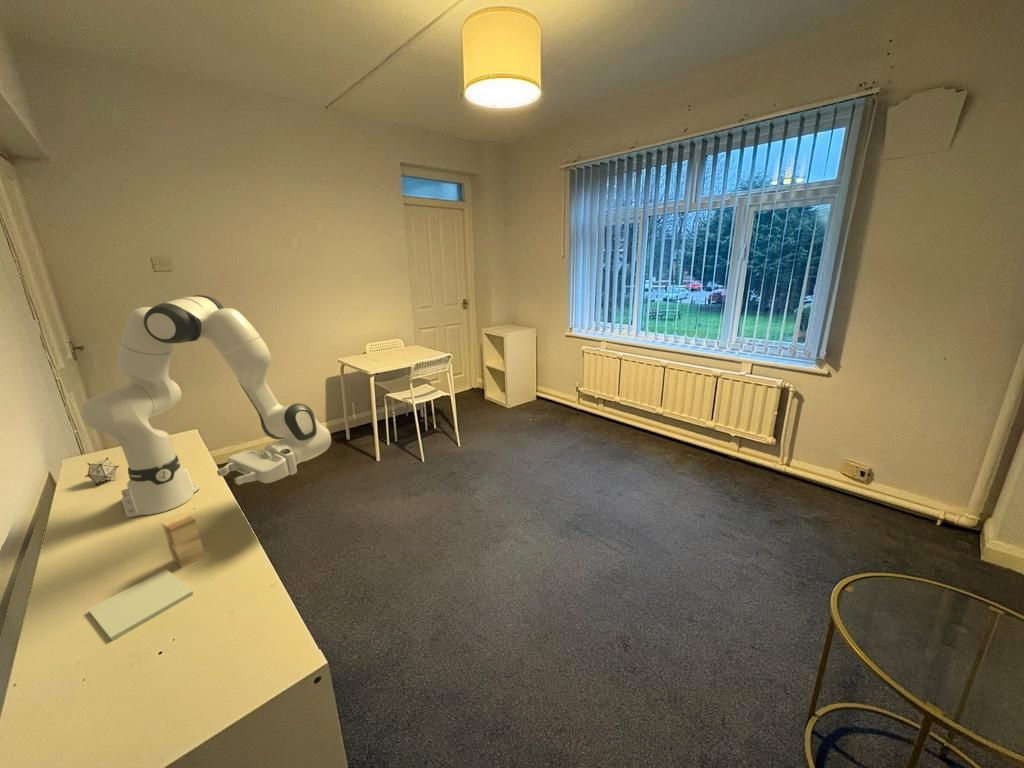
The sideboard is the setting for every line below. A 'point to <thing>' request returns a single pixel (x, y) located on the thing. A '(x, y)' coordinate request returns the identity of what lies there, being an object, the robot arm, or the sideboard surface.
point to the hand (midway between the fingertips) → (227, 477)
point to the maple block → (183, 539)
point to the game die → (101, 471)
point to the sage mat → (139, 603)
